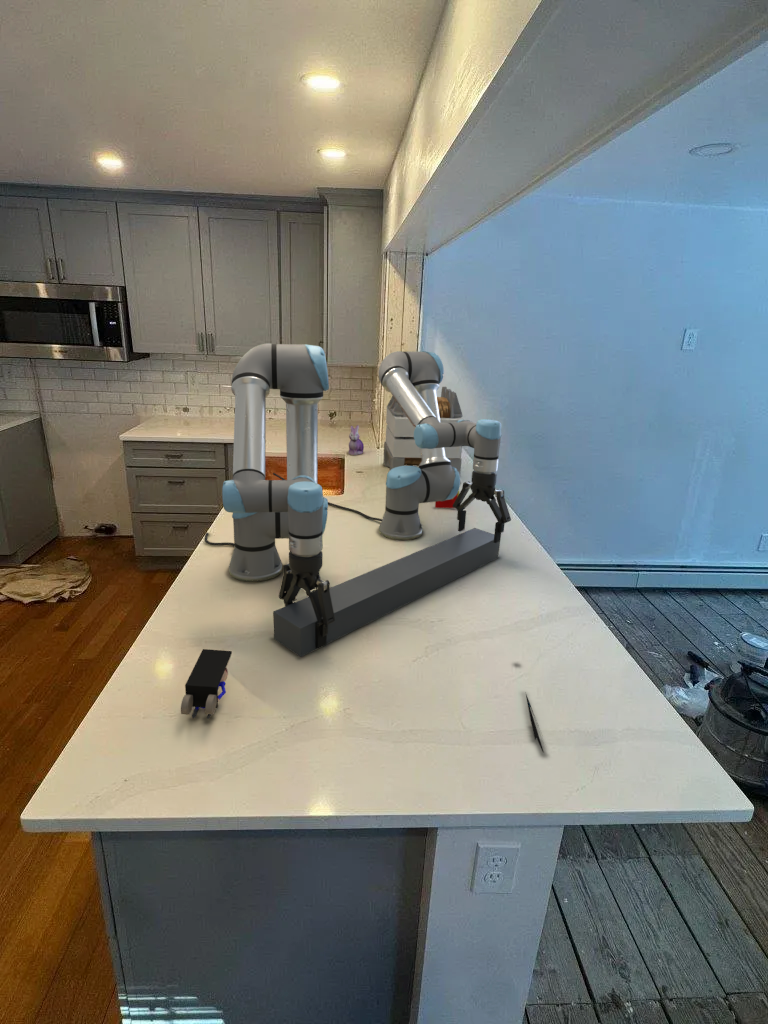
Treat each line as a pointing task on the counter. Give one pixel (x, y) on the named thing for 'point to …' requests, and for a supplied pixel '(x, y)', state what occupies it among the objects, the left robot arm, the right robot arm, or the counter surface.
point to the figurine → (355, 442)
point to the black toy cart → (206, 682)
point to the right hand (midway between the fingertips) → (478, 535)
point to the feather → (534, 723)
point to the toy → (446, 503)
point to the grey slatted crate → (401, 433)
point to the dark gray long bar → (385, 589)
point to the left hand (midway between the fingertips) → (305, 636)
